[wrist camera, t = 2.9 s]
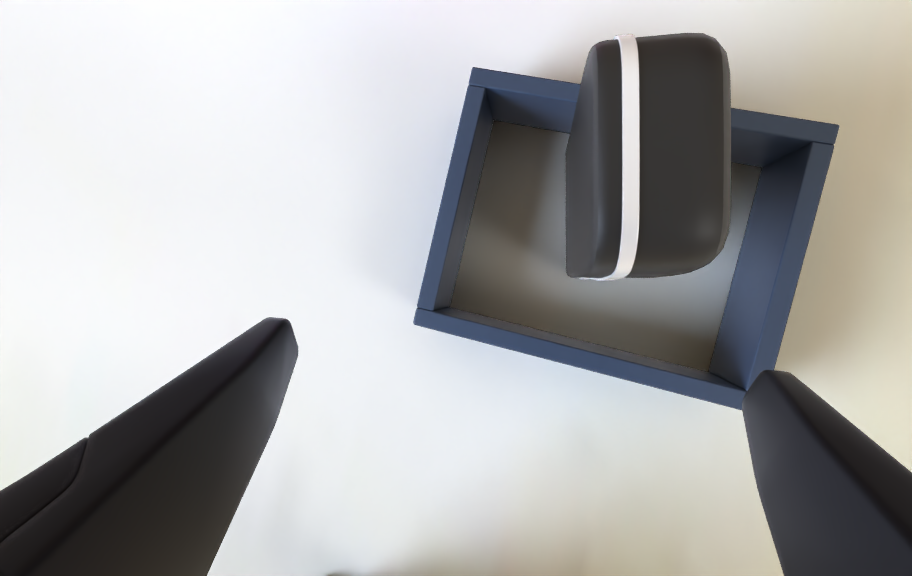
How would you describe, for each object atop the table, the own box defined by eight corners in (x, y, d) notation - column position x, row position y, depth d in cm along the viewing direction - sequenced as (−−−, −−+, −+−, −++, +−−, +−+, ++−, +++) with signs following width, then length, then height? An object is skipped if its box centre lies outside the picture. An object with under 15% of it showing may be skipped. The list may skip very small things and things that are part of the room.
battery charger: (644, 281, 22) (757, 277, 11) (565, 282, 23) (595, 278, 12) (644, 139, 22) (757, -10, 11) (564, 144, 23) (594, 7, 12)
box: (721, 392, 22) (762, 416, 18) (432, 318, 24) (412, 324, 20) (784, 154, 21) (840, 124, 17) (482, 102, 24) (472, 66, 20)
